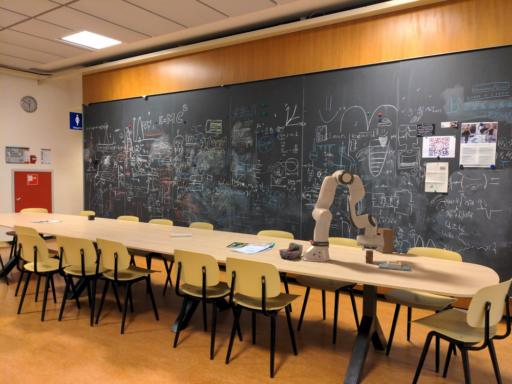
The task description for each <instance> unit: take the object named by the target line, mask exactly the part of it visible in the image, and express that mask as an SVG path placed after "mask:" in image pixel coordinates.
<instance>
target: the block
mask: <svg viewBox="0 0 512 384" xmlns="http://www.w3.org/2000/svg"><path fill="white" fill-rule="evenodd" d="M377 232H378V233H381V234H382V235H383V238H384V247H379V249H378V252H379V253H381V254H393V253H394V241H395V240H394V239H395V230H394V229H393V228H388V227H379V228H378V227H377Z"/></svg>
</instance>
